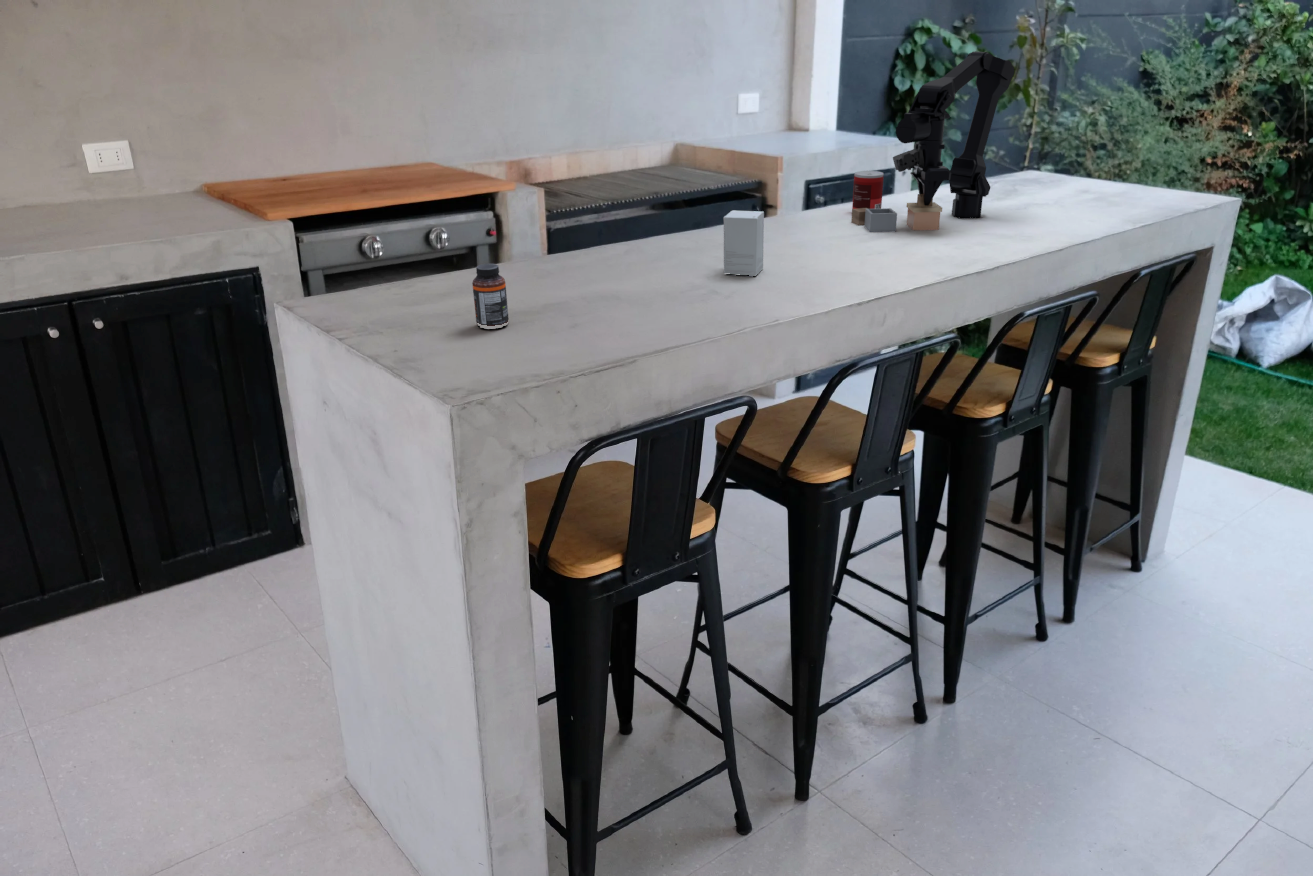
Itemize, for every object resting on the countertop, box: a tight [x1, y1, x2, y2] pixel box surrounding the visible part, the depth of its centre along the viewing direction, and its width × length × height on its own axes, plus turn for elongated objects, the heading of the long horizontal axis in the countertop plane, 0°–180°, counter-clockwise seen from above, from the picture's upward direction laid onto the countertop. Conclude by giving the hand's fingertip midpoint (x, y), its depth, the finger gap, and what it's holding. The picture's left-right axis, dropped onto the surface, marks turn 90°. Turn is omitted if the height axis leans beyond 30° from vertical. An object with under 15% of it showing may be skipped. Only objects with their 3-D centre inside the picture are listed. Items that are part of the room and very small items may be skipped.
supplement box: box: [722, 209, 765, 277], centre depth 212 cm, size 7×7×13 cm
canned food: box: [851, 170, 885, 210], centre depth 264 cm, size 8×8×11 cm
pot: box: [906, 208, 941, 231], centre depth 248 cm, size 6×6×5 cm
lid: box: [906, 193, 943, 213], centre depth 246 cm, size 7×7×4 cm
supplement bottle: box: [472, 263, 510, 326], centre depth 180 cm, size 6×6×11 cm
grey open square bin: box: [863, 207, 898, 233], centre depth 247 cm, size 6×6×5 cm
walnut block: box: [850, 208, 868, 226], centre depth 253 cm, size 4×4×4 cm
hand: (924, 203), depth 246 cm, fingers closed on lid, 3 cm apart
